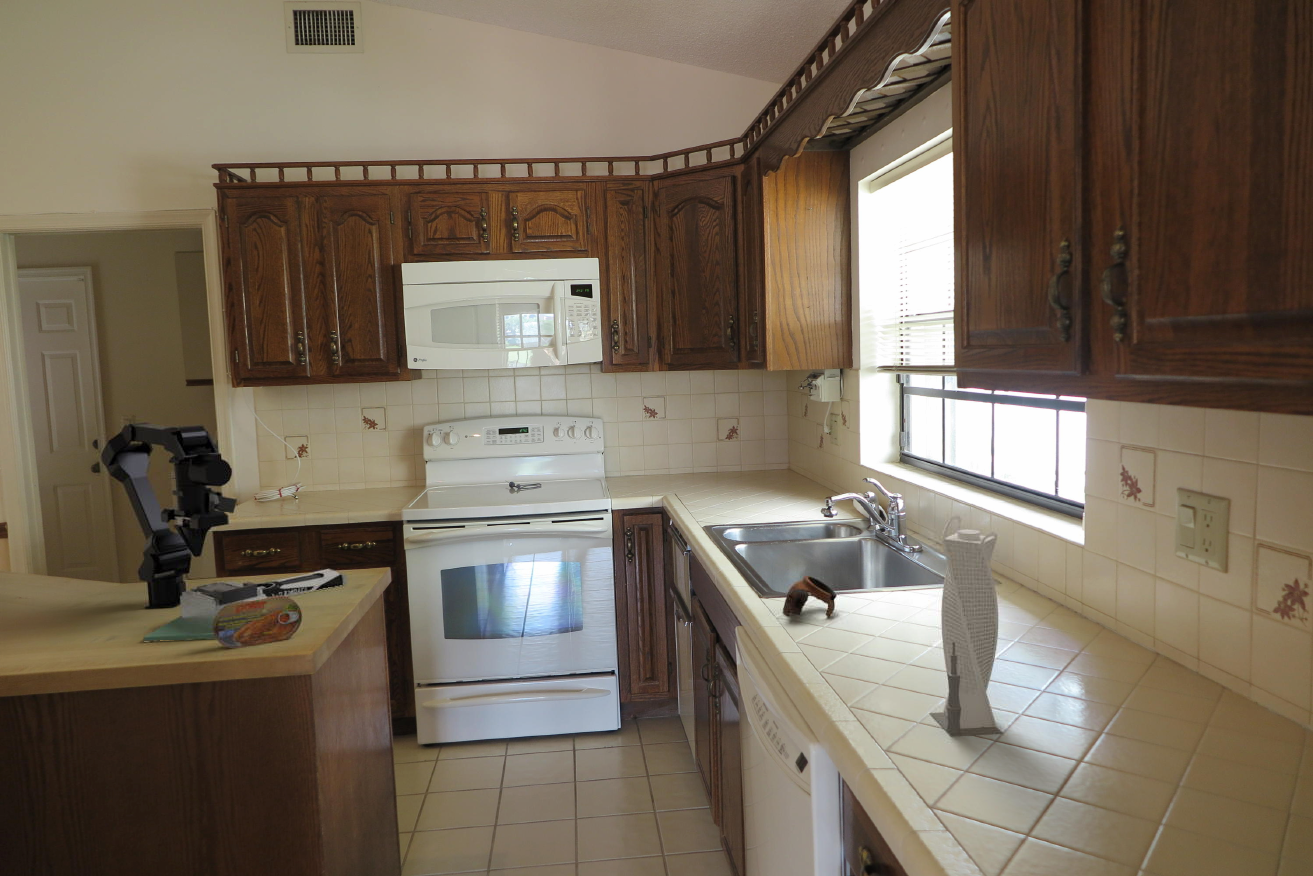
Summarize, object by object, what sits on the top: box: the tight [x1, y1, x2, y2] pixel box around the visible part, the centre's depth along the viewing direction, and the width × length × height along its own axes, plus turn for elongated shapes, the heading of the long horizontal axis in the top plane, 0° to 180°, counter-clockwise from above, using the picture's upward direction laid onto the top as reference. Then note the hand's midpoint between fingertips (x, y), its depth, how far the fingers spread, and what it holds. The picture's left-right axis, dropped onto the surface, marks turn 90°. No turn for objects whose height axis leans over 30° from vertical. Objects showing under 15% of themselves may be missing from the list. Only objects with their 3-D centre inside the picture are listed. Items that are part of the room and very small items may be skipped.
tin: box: [213, 596, 303, 649], centre depth 154 cm, size 15×3×8 cm, turn 117°
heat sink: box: [180, 580, 266, 631], centre depth 166 cm, size 15×10×8 cm, turn 53°
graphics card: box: [256, 568, 348, 597], centre depth 190 cm, size 10×3×25 cm
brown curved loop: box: [782, 575, 837, 618], centre depth 160 cm, size 12×10×8 cm
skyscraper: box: [929, 515, 1004, 737], centre depth 110 cm, size 8×8×28 cm
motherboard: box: [143, 615, 217, 642], centre depth 167 cm, size 20×20×1 cm
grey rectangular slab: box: [196, 582, 236, 596], centre depth 167 cm, size 12×4×1 cm, turn 53°
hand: (197, 556), depth 176 cm, fingers closed
